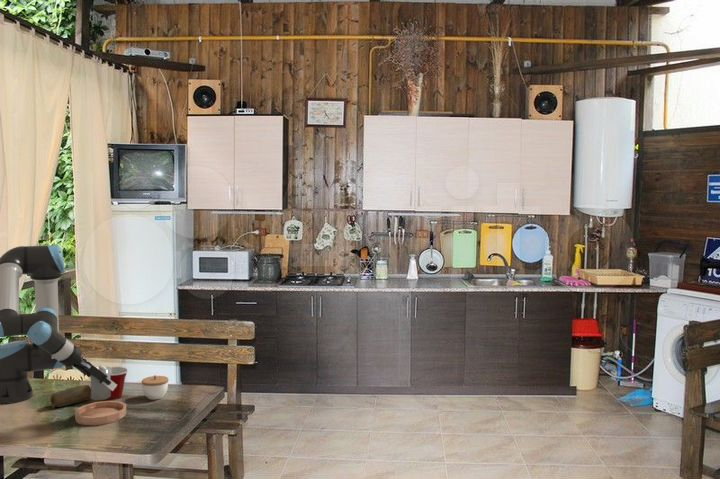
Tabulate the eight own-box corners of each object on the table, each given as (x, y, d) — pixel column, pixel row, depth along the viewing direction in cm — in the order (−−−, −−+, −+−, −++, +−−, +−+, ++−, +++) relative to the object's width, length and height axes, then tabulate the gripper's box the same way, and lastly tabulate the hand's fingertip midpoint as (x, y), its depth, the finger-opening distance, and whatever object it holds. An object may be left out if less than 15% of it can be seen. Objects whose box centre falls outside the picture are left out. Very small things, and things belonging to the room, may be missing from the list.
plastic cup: (118, 402, 246) (118, 374, 245) (95, 400, 248) (94, 372, 247) (133, 394, 256) (133, 366, 255) (111, 392, 258) (110, 365, 257)
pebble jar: (87, 397, 228) (86, 366, 227) (104, 392, 233) (104, 362, 233) (96, 401, 224) (95, 369, 223) (114, 396, 229) (113, 365, 228)
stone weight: (85, 397, 252) (84, 382, 251) (93, 401, 247) (92, 385, 247) (48, 406, 240) (48, 390, 240) (56, 410, 236) (56, 394, 235)
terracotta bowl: (66, 417, 228) (66, 410, 228) (111, 405, 242) (111, 397, 242) (90, 429, 217) (89, 421, 217) (135, 415, 231) (135, 407, 231)
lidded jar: (174, 396, 254) (173, 374, 253) (153, 403, 245) (152, 381, 244) (157, 391, 260) (157, 370, 259) (136, 398, 251) (136, 376, 250)
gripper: (46, 357, 222) (90, 389, 235) (72, 366, 209) (116, 399, 223) (60, 340, 226) (102, 373, 239) (86, 348, 213) (129, 382, 227)
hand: (109, 385), depth 231 cm, fingers closed on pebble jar, 7 cm apart
